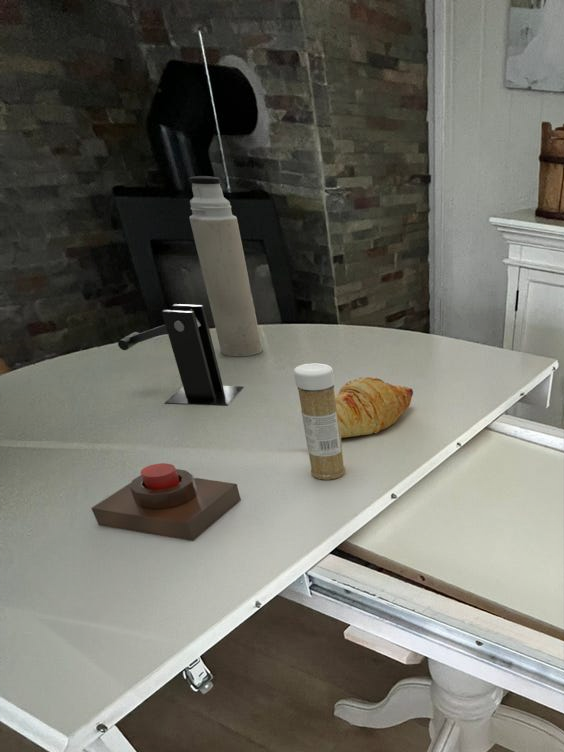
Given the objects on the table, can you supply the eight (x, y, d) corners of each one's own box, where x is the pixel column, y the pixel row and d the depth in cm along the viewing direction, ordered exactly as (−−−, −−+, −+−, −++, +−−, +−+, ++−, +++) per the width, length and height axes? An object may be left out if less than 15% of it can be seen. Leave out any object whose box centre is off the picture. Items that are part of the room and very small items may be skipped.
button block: (98, 525, 67) (84, 493, 64) (154, 487, 74) (143, 456, 71) (193, 541, 65) (182, 508, 62) (241, 500, 72) (233, 469, 70)
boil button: (138, 489, 66) (133, 474, 65) (159, 475, 69) (154, 461, 68) (167, 493, 65) (162, 478, 64) (186, 479, 68) (182, 465, 67)
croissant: (330, 471, 87) (341, 431, 80) (284, 425, 87) (291, 381, 81) (423, 427, 100) (439, 389, 93) (382, 387, 100) (395, 346, 94)
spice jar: (344, 465, 81) (331, 361, 72) (346, 480, 77) (333, 372, 69) (310, 467, 80) (293, 362, 71) (310, 482, 76) (292, 374, 68)
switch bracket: (166, 410, 94) (136, 314, 85) (187, 391, 100) (161, 300, 91) (229, 412, 94) (206, 316, 85) (246, 393, 101) (226, 303, 92)
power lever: (123, 354, 90) (113, 338, 89) (138, 346, 94) (128, 330, 92) (193, 331, 88) (183, 314, 86) (204, 323, 92) (195, 306, 90)
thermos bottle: (240, 343, 123) (203, 174, 105) (270, 349, 121) (238, 177, 103) (212, 352, 118) (168, 175, 99) (243, 358, 115) (204, 178, 97)
